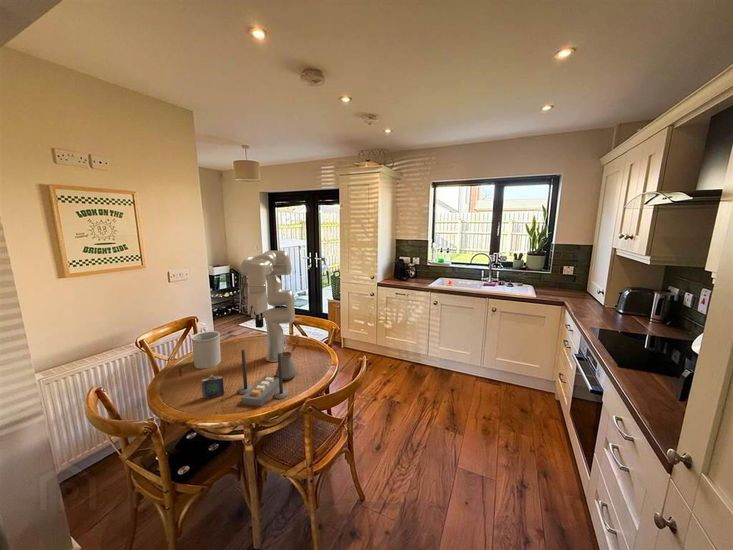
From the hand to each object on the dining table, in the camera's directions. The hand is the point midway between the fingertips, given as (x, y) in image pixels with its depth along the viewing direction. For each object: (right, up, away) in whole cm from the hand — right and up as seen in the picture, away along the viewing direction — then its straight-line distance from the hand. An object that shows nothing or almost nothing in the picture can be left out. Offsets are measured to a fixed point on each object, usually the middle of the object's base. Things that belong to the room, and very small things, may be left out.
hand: (259, 327), depth 136 cm
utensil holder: (-44, -28, +36) cm, 63 cm away
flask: (-23, -34, +3) cm, 41 cm away
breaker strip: (0, -33, +5) cm, 34 cm away
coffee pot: (+8, -30, +26) cm, 40 cm away
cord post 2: (+9, -33, +3) cm, 35 cm away
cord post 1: (-9, -33, +7) cm, 35 cm away
